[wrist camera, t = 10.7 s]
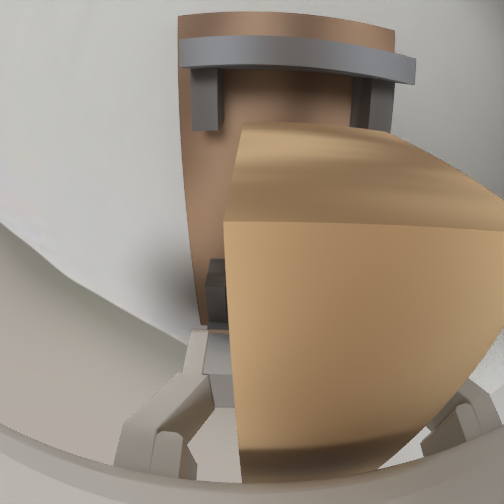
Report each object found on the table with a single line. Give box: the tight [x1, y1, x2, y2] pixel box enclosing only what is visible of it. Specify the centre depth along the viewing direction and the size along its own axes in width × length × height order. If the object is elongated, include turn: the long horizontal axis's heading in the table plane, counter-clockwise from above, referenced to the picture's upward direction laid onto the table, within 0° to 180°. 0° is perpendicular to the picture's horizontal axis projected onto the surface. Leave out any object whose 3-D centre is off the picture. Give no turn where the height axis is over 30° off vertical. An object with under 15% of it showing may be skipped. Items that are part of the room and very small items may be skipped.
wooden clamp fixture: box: [178, 12, 416, 330], centre depth 16 cm, size 12×22×6 cm, turn 0°
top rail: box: [223, 121, 504, 483], centre depth 8 cm, size 4×12×6 cm, turn 0°
